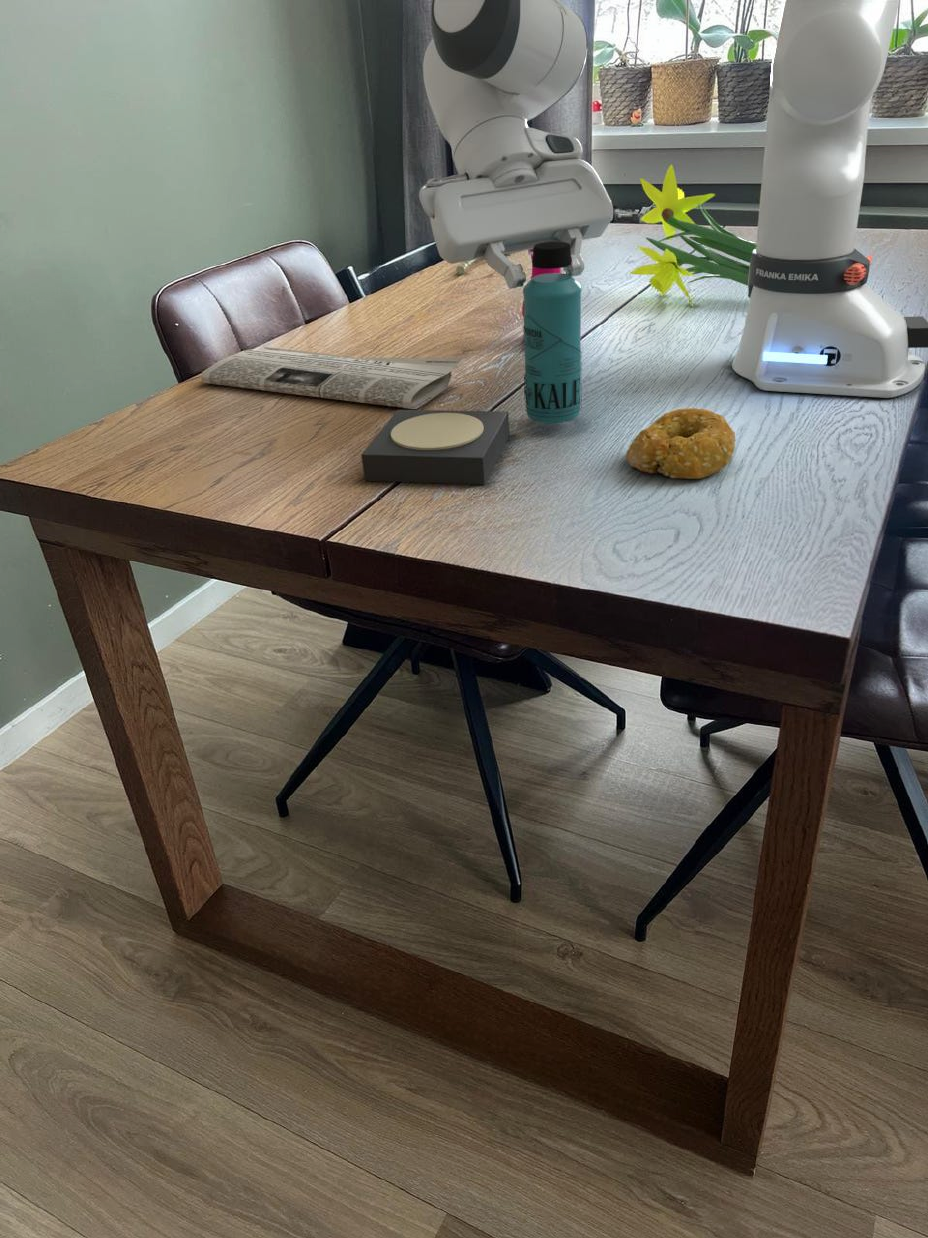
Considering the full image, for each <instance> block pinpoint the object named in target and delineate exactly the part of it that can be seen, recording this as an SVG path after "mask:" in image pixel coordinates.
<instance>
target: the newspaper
mask: <svg viewBox="0 0 928 1238" xmlns="http://www.w3.org/2000/svg"><path fill="white" fill-rule="evenodd" d="M461 361H462V358H461V357H458V358H457V357H443V358H442V357H353V356H345V355H337V354H327V353H318V352H310V351H302V350H296V349H295V350H293V349H286V348H279V347H278V348H276V347H270V346H269V347H268V346H264V348H262V349H261V348H260V349H247V350H242V351H239V352H237V353H234V354H232V355H229V356H227V357H224V358H223V359H220V360H217V362H215V363H214V364H212V365H210V366H208V367H207V368H206V369H205V370H203V371H202V373H201V376H200V378H201V382H202V383H204V384H211V385H219V386H227V387H235V388H243V389H252V390H259V391H260V390H261V391H267V392H274V393H283V394H289V395H290V394H291V395H299V396H307V397H315V398H323V399H329V400H337V401H338V400H339V401H345V402H354V403H363V404H370V405H379V406H385V407H395V408H401V409H408V410H418V409H419V408H421V407H422V406H424V405H425V404H427V403H429V402H430V401H432V400H433V399H434V398H435V397H437V396H438V395H440V394H441V393H443V391H445V390H446V389H448V387H449V384H450V382H451V379H452V371H454V370H455V369H457V367H458V365H459V364H460V363H461Z"/></svg>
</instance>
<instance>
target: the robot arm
mask: <svg viewBox="0 0 928 1238" xmlns="http://www.w3.org/2000/svg"><path fill="white" fill-rule="evenodd" d="M900 1H901V0H784V3H783V7H782V13H781V18H780V23H779V28H778V32H777V39H776V44H775V47H774V50H773V54H772V60H771V62H772V63H771V70H770V71H771V72H770V84H769V93H768V94H769V95H768V107H767V118H766V128H765V139H764V140H765V141H764V151H763V153H764V154H763V162H762V163H763V165H762V175H761V185H760V194H759V195H760V197H759V206H758V207H759V208H758V218H757V219H758V220H757V230H756V240H755V243H756V249H755V250H753V252H752V256H751V262H750V263H749V266H750V267H749V276H748V286H747V293H748V294H747V296H748V298H749V302H748V306H747V311H746V312H747V314H746V317H745V321H744V326H743V330H742V334H741V335H742V336H741V338H740V341H739V344H738V348H737V350H736V353H735V356H734V358H733V361H732V363H731V368H732V370H733V371H734V372H735V374H738V375H739V376H741V377H742V378H745V379H747V380H749V381H751V382H752V383H753V384H754V385H755V386H756V388H758V389H759V390H762V391H766V392H768V391H769V392H781V393H782V392H785V393H797V394H798V393H799V394H801V393H802V394H813V395H814V394H818V395H830V396H831V395H832V396H833V395H835V396H847V397H848V396H849V397H867V398H883V399H890V398H896V397H900V396H902V395H905V394H907V393H910V392H911V391H913V390H914V389H915V388H916V387H918V386H919V385H920V384H921V382H922V381H923V379H924V378H925V374H926V364H925V361H924V360H923V359H922V358H921V357H919V356H918V355H915V354H909V349H927V348H928V321H927V319H926V318H925V317H924V316H923V315H920V316H919V315H918V316H903V315H902V314H901V313H900V312H899V311H898V310H896V309H895V307H893V306H892V305H890V304H889V303H888V302H887V301H886V300H885V299H884V298H882V296H880V295H879V294H878V293H877V292H876V291H875V290H874V289H872V287H870V286H869V285H868V284H867V283H868V279H869V273H870V268H871V267H870V266H871V265H872V262H871V261H872V260H873V255H872V254H869V255H868V256H867V257H866V256H865V255H864V254H863V253H861V252H860V251H859V250H857V249H856V248H855V244H856V237H857V230H858V223H859V215H860V209H861V202H862V195H863V188H864V181H865V171H866V170H865V168H866V167H865V166H866V154H867V142H868V133H869V132H868V130H869V121H870V111H871V110H870V109H871V102H872V97H873V95H874V94H875V92H876V90H877V89H878V87H879V84H880V82H881V80H882V78H883V75H884V72H885V68H886V64H887V60H888V56H889V51H890V46H891V42H892V37H893V33H894V28H895V24H896V21H897V14H898V10H899V7H900V6H899V5H900ZM430 27H431V34H432V39H431V40H430V42H429V44H428V46H427V48H426V50H425V53H424V56H423V63H422V73H423V74H422V76H423V83H424V89H425V92H426V96H427V99H428V103H429V105H430V109H431V112H432V114H433V116H434V119H435V121H436V124H437V126H438V129H439V131H440V133H441V135H442V137H443V138H444V140H446V141H447V143H448V144H449V146H450V148H451V158H452V161H453V163H454V167H455V169H456V172H457V174H454V175H450V176H446V177H434V178H430V179H428V180H427V181H426V183H425V184H423V185H422V186H421V187H420V189H419V192H418V197H419V202H420V204H421V206H422V209H423V211H424V213H425V214H426V215H427V216H428V217H429V221H430V227H431V231H432V235H433V239H434V242H435V245H436V249H437V252H438V254H439V257H440V258H441V259H442V260H444V261H446V262H447V263H449V264H450V265H453V264H454V265H455V264H459V263H465V262H468V261H470V260H475V261H477V260H482V259H485V260H486V263H487V265H488V266H489V267H490V268H491V269H493V270H494V271H495V272H497V274H499V275H500V276H502V277H503V278H504V280H505V282H506V286H507V288H508V289H509V290H512V289H516V288H521V287H524V286H525V283H526V281H527V275H526V273H525V272H524V268H523V266H522V265H523V264H522V263H518V264H514V263H513V262H512V261H511V260H510V259H509V257H507V256H506V255H508V254H509V255H510V254H513V253H519V252H524V251H528V250H531V249H533V248H534V246H535V245H536V244H539V243H543V242H566V243H569V244H570V247H571V257H572V264H571V265H569V266H567V267H562V269H563V271H564V272H565V274H568V275H570V276H572V277H573V278H574V277H578V276H581V275H582V273H583V272H584V270H585V263H584V261H583V258H582V256H581V254H580V253H581V250H582V242H583V241H584V240H589V239H596V238H599V237H602V236H603V234H604V233H605V232H606V230H607V228H608V226H609V225H610V223H611V221H612V219H613V216H614V207H613V203H612V200H611V198H610V196H609V194H608V191H607V190H606V188H605V186H604V184H603V182H602V180H601V178H600V177H599V175H598V173H597V172H596V170H595V169H594V167H593V166H592V165H591V164H590V163H589V162H587V161H585V160H583V159H581V158H582V154H583V150H584V149H583V146H582V144H581V142H580V140H579V139H578V138H576V137H573V136H570V135H569V136H568V135H562V134H556V133H552V132H547V131H543V130H539V129H537V128H534V127H529V125H528V122H530V121H532V120H534V119H536V118H537V117H539V116H541V115H542V114H544V113H545V112H546V111H548V110H549V109H551V107H553V106H554V105H555V104H557V103H558V102H559V101H560V100H562V99H563V98H564V97H565V96H566V95H567V94H568V93H569V92H570V91H571V90H572V89H573V88H574V87H575V85H576V84H577V82H578V81H579V79H580V78H581V75H582V73H583V71H584V68H585V65H586V62H587V61H586V60H587V56H588V34H587V29H586V26H585V23H584V21H583V19H582V18H581V17H580V15H578V13H577V12H576V11H574V10H572V9H571V8H570V7H568V6H567V5H566V4H564V2H561V1H560V0H432V1H431V7H430ZM476 259H477V260H476Z"/></svg>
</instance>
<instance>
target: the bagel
mask: <svg viewBox="0 0 928 1238" xmlns="http://www.w3.org/2000/svg"><path fill="white" fill-rule="evenodd" d="M735 450H736V433H735V431H734V430H733V428H732V427H731V425H730V424H729V422H728V421H727V419H726V418H725V417H724V416H722V415H721V414H719V413H716V412H713V411H712V410H710V409H705V408H695V407H694V408H693V407H691V408H676V409H675V410H672V411H669V412H664V413H663V415H661V416H660V417H657V419H655V421H653V423H652V424H651V425H650V426H648V427H646V428H644V429H642V430H640V431H639V432H638V434H637V435H636V436H635V437H634V439H633V440H632V441H631V444H630V445H629V447H628V449H627V450H626V453H625V461H626V462H627V463H628V464H629V466H631V467H632V468H635V469H637V470H639V471H641V472H642V473H643V472H644V473H647V474H648V473H649V474H657V473H659V474H662V475H663V476H665V477H669V478H671V479H685V480H687V479H688V480H695V479H697V480H698V479H699V480H700V479H704V478H707V477H709V476H711V475H712V474H715V473H718V472H720V471H721V470H723V468H725V467H726V466H727V465H729V462H730V461H731V459H732V457H733V454H734V452H735Z"/></svg>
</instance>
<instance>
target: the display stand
mask: <svg viewBox="0 0 928 1238" xmlns="http://www.w3.org/2000/svg"><path fill="white" fill-rule="evenodd" d="M509 439H510V421H509V411H506V410H505V411H503V410H500V411H499V410H494V411H493V410H445V409H444V410H439V409H438V410H436V409H435V410H432V409H431V410H430V409H396V411H395V412H394V413H393V415H392V416H391V417H390V419H389V420H388V421H387V422H386V423H385V425H384V426H383V427H382V428H381V430H380V431H379V432H378V434H376V436H375V437H374V438H373V440H372V441H371V442H370V443H369V444H368V445H367V446H366V448H365V450H363V452H362V453H361V464H362V469H363V471H362V472H363V476H364V481H365V482H385V483H386V482H388V483H389V482H390V483H417V484H418V483H419V484H420V483H421V484H445V485H448V484H449V485H474V486H476V485H477V486H485V485H486V483H487V481H488V479H489V477H490V475H491V474H492V471H493V470H494V468H495V466H496V464H497V462H498V460H499V457H500V456H501V454H502V451H503V450H504V449H505V446H506V444H507V442H508V440H509Z"/></svg>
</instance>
